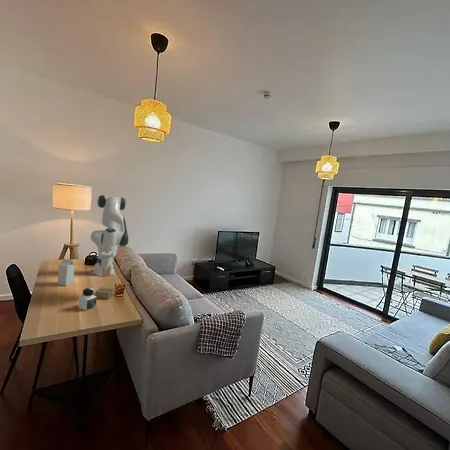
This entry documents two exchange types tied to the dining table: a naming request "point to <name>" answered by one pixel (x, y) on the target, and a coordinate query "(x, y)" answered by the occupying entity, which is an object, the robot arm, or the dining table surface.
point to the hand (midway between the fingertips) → (106, 271)
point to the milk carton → (65, 272)
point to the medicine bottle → (87, 299)
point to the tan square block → (104, 293)
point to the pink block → (107, 272)
